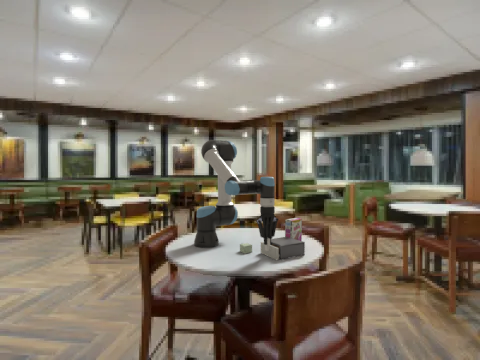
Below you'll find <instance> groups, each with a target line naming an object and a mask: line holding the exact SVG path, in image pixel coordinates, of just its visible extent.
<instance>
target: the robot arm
mask: <svg viewBox="0 0 480 360" xmlns="http://www.w3.org/2000/svg"><path fill="white" fill-rule="evenodd" d="M237 149H238V148H237V146H236V145H235V143H234V142H233V141H231V140H216V139H210V140H207V141H206V142H204V143H203V145H202V147H201V151H200V153H201V156H202V159H203V160H204V162H206V163H208V164H209V165H210V166H211V168H212V169H213V170H214V171H215V173H216V174H217V202H216V203H215V205H206V206H205V205H204V206H201V207H198V209H197V210H196V234H195V237H194V241H193V246H195V247H197V248H214V247H217V246H219V243H220V242H219V238H218V234H217V231H216V230H217V227H220V226H221V227H222V226H229V225H233V224H235V223H236V221H237V220H238V216H239V214H238V210H237V207H236V206H235V204H234V202H232V196H240V195H242V196H243V195H257V194H259V195H260V198H259V201H260V203H259V204H260V207H259V210H260V216H259V218H258V219H256V220H255V221H256V223H257V226H258V231H259V237H260V238H263V242H264V244H265V250H266V251H270V244H271V239H274V238H273V237H275V235H276V230H277V224H278V222H279V218H277V217H276V216H275V211H276V210H275V209H276V208H275V205H276V203H275V190H276V189H275V188H276V187H275V186H276V184H275V178H274V177H273V176H261V177H260V179H248V180H247V179H246V180H245V179H244V180H240V178H238V176H237V175H236V174H235V172H233V170H232V164H233V162H234V160H235V159H236V157H237V155H238V150H237Z"/></svg>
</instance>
